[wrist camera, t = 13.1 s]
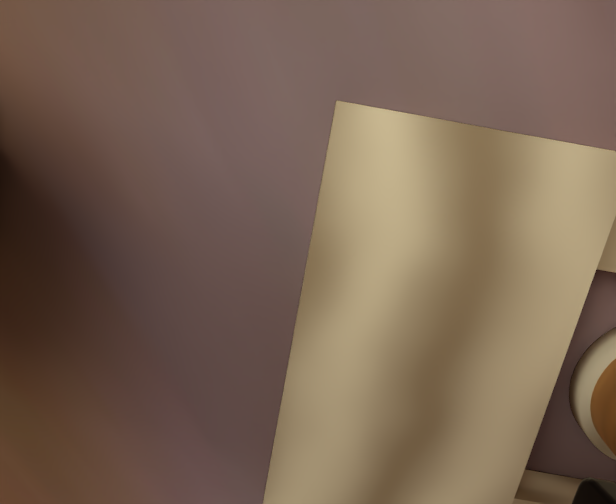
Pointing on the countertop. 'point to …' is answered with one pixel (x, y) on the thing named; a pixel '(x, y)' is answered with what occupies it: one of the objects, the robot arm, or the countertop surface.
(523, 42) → the countertop surface
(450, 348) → the rectangular frame
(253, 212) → the countertop surface
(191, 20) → the countertop surface
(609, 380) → the cord reel
